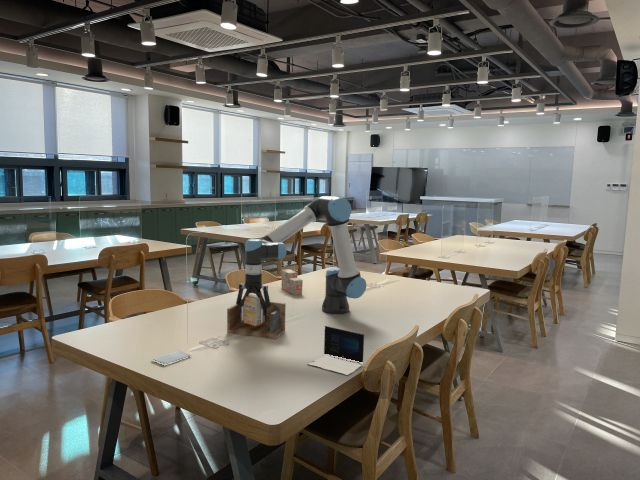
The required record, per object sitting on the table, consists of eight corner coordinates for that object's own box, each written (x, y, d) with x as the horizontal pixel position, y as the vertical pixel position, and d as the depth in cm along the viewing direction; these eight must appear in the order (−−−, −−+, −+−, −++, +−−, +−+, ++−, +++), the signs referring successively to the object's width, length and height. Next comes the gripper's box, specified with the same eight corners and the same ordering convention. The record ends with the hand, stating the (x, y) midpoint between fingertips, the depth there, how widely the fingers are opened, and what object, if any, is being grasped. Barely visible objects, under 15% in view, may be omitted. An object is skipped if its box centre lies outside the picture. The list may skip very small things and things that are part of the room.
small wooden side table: (285, 331, 224) (285, 303, 222) (275, 339, 212) (275, 309, 211) (238, 325, 231) (239, 298, 229) (227, 332, 219) (227, 304, 217)
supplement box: (243, 323, 221) (243, 295, 219) (250, 320, 225) (250, 293, 223) (255, 326, 216) (255, 298, 214) (263, 324, 220) (263, 296, 218)
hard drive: (164, 364, 179) (191, 354, 189) (151, 358, 184) (178, 349, 194) (164, 368, 179) (191, 358, 189) (151, 362, 184) (178, 353, 194)
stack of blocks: (302, 294, 296) (302, 275, 294) (293, 295, 293) (293, 275, 292) (290, 287, 315) (290, 268, 314) (281, 287, 313) (281, 269, 311)
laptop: (307, 366, 184) (307, 333, 182) (324, 356, 195) (325, 325, 193) (347, 377, 174) (348, 343, 173) (363, 366, 185) (364, 334, 183)
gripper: (228, 272, 217) (228, 320, 220) (272, 276, 211) (271, 325, 214) (235, 269, 224) (235, 316, 227) (278, 273, 218) (277, 321, 221)
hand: (253, 320), depth 220 cm, fingers closed on supplement box, 9 cm apart
